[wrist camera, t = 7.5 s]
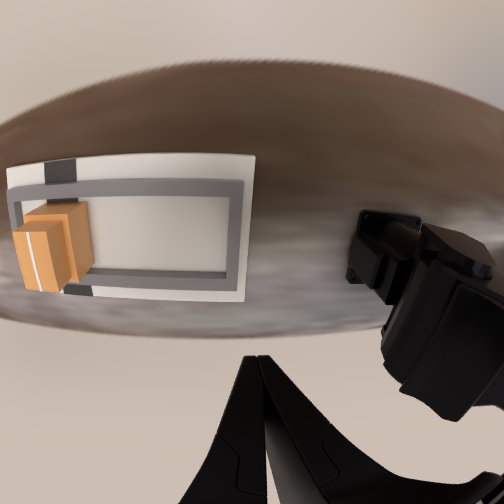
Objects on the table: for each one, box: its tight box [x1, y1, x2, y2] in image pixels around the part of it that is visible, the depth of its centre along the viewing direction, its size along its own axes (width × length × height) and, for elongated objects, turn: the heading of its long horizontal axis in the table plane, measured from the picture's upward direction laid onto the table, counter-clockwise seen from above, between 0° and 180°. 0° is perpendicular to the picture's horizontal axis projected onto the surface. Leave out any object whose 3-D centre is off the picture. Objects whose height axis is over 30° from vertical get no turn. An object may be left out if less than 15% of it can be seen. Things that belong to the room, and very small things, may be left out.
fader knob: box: [12, 201, 94, 293], centre depth 15 cm, size 4×5×5 cm
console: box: [6, 152, 256, 302], centre depth 18 cm, size 20×11×2 cm, turn 86°
